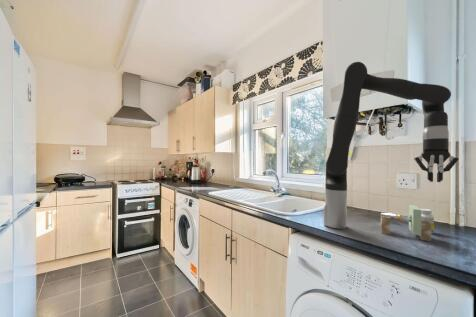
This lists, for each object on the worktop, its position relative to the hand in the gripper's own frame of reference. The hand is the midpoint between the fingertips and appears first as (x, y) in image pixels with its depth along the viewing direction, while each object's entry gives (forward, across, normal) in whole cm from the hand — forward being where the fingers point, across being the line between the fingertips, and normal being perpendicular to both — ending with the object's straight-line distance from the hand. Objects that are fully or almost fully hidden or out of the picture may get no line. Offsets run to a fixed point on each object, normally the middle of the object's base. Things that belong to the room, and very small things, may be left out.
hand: (435, 181), depth 85 cm
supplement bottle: (+23, -1, +11) cm, 26 cm away
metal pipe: (+17, -10, 0) cm, 20 cm away
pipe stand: (+23, -10, 0) cm, 25 cm away
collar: (+21, -6, 0) cm, 22 cm away
